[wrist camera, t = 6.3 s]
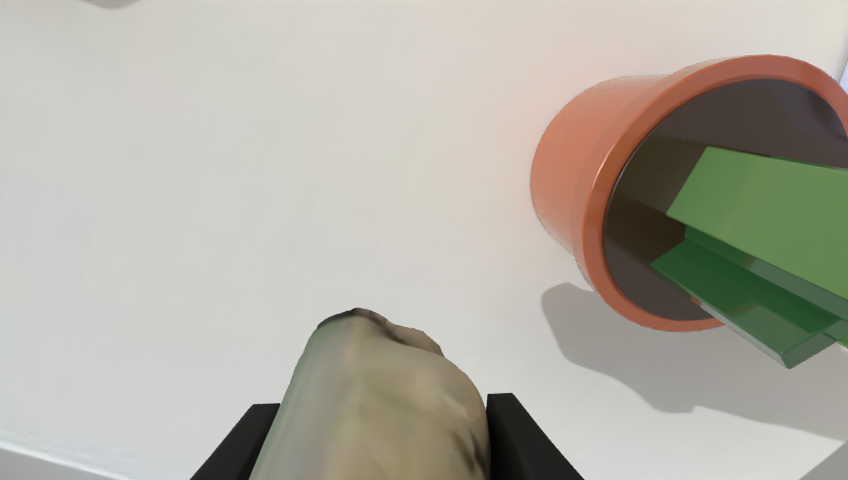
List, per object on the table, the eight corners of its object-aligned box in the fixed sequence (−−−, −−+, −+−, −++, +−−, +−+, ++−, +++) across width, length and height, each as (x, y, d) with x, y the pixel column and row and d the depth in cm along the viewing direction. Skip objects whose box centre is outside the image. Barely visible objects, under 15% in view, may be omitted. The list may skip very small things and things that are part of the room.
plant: (738, 67, 16) (1851, 7, 4) (683, 259, 20) (1199, 562, 7) (533, 63, 16) (1098, -30, 3) (511, 263, 19) (750, 608, 6)
